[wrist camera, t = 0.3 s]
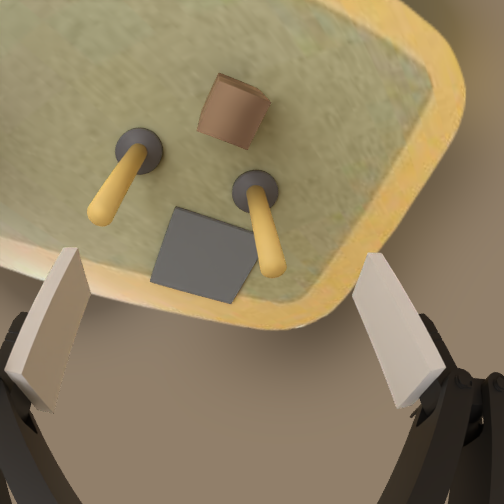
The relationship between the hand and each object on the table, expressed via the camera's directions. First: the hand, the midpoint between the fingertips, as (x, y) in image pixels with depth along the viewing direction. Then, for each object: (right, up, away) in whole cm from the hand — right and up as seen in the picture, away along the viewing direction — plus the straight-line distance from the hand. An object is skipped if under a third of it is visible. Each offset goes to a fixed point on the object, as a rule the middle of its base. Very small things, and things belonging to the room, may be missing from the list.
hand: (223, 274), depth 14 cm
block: (-1, +19, +20) cm, 28 cm away
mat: (-6, 0, +34) cm, 34 cm away
